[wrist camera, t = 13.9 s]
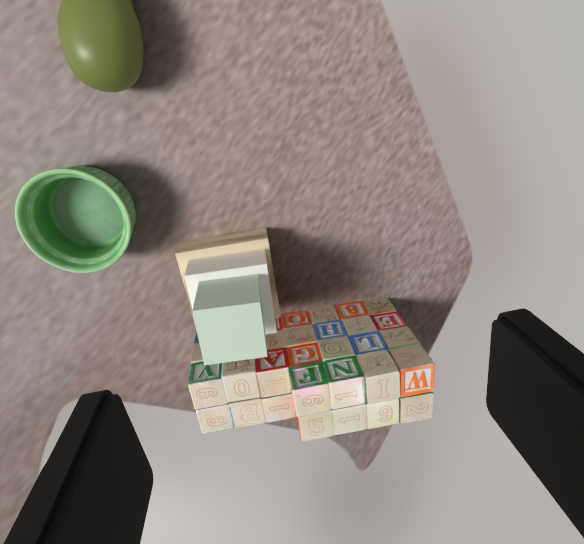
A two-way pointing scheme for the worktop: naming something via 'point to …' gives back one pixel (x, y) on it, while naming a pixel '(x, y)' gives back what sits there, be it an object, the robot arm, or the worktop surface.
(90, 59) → the pear
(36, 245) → the ramekin
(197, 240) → the tower base
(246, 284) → the sage cube
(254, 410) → the stack of blocks
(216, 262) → the tower top
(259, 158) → the worktop surface
